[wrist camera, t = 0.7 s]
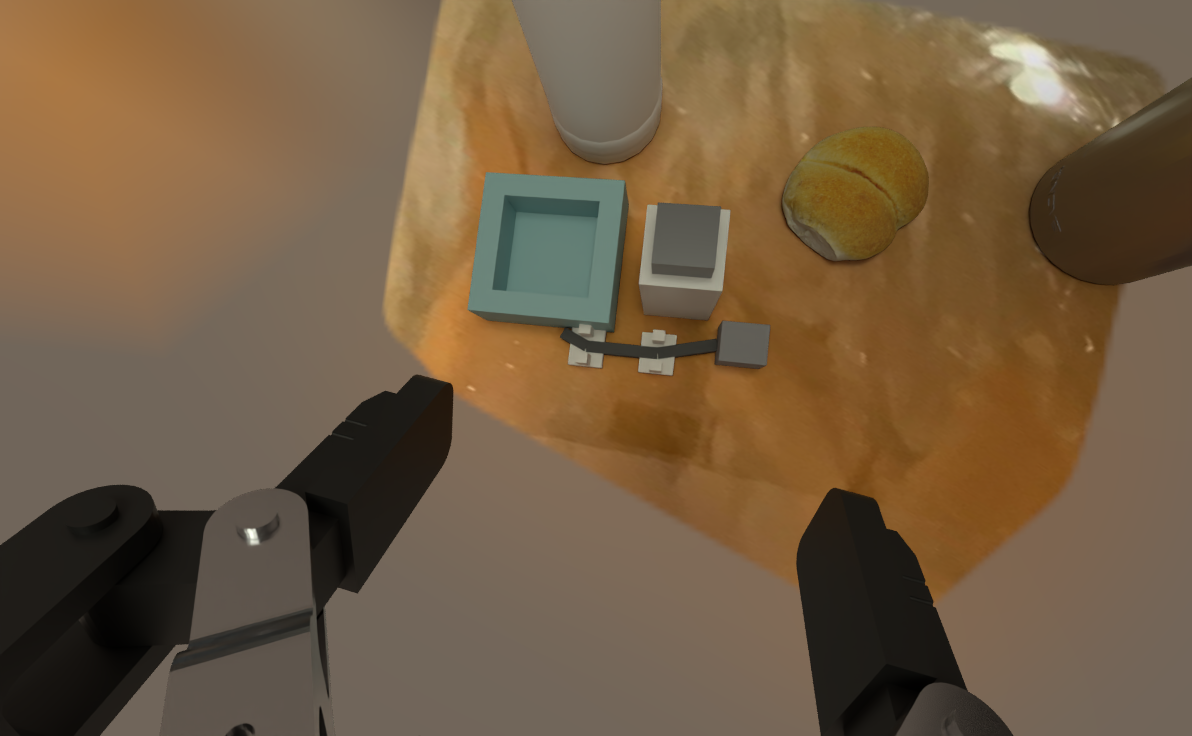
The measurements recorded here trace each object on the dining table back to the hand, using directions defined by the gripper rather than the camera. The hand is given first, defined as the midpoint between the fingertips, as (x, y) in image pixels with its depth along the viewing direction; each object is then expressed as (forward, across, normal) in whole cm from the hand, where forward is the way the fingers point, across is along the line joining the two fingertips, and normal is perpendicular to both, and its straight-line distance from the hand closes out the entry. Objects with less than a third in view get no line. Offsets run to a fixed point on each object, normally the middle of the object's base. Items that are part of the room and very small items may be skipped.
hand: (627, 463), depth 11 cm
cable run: (+24, -1, +11) cm, 27 cm away
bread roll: (+32, -11, 0) cm, 34 cm away
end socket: (+28, +8, +8) cm, 30 cm away
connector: (+27, -1, +7) cm, 28 cm away
